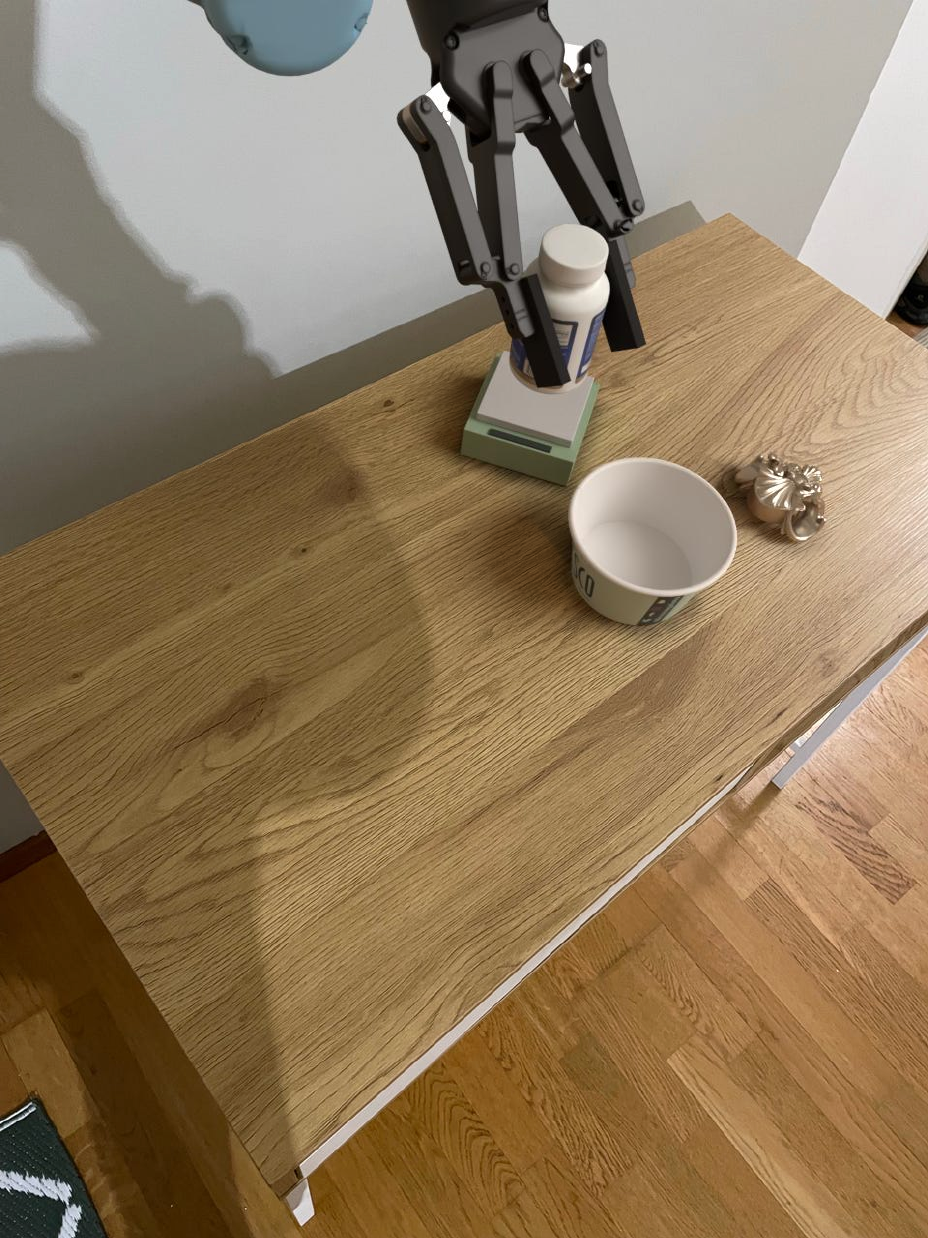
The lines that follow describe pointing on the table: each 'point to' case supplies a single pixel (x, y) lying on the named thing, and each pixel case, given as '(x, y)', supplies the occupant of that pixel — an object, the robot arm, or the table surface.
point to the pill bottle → (568, 300)
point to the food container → (647, 538)
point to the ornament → (784, 495)
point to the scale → (528, 425)
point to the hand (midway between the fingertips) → (591, 365)
